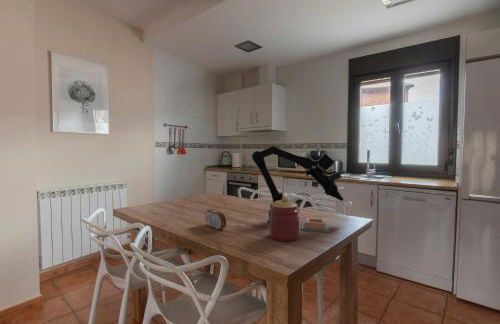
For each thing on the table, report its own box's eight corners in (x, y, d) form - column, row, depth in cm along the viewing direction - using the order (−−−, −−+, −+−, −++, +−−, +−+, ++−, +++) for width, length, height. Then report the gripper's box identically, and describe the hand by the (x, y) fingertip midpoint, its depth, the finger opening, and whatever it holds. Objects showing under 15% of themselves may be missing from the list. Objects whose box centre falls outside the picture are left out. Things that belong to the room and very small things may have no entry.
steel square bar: (335, 212, 131) (335, 187, 130) (334, 211, 135) (335, 186, 134) (343, 213, 130) (344, 188, 129) (343, 211, 134) (343, 187, 133)
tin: (226, 230, 124) (226, 212, 123) (221, 231, 122) (221, 213, 121) (209, 223, 135) (209, 207, 135) (204, 225, 133) (204, 208, 133)
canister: (283, 244, 105) (284, 200, 105) (263, 235, 116) (263, 195, 115) (305, 237, 113) (306, 197, 112) (284, 230, 123) (285, 193, 123)
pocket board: (301, 230, 124) (301, 223, 124) (303, 222, 137) (303, 216, 137) (329, 232, 121) (329, 225, 121) (329, 224, 133) (329, 218, 133)
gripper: (332, 166, 123) (357, 191, 121) (331, 164, 141) (352, 186, 139) (314, 182, 126) (338, 207, 123) (315, 179, 144) (336, 200, 141)
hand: (342, 199), depth 132 cm, fingers closed on steel square bar, 4 cm apart
